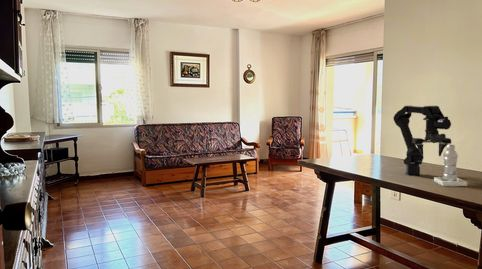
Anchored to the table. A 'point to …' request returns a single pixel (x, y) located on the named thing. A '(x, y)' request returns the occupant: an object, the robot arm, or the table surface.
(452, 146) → the plastic bottle
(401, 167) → the table surface
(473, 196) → the table surface
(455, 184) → the tray
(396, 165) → the table surface
